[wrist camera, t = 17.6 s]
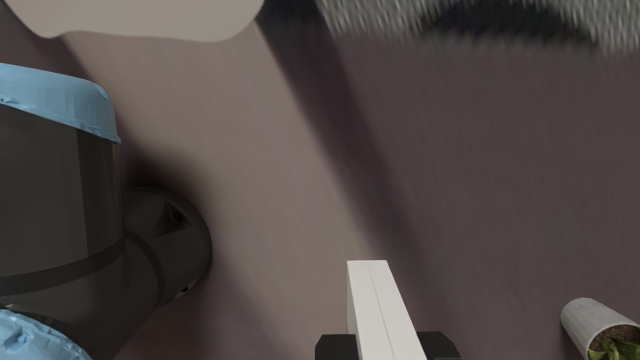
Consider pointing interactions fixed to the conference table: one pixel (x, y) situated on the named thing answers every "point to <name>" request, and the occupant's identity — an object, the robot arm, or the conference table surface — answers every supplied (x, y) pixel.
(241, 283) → the conference table surface
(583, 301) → the house plant
